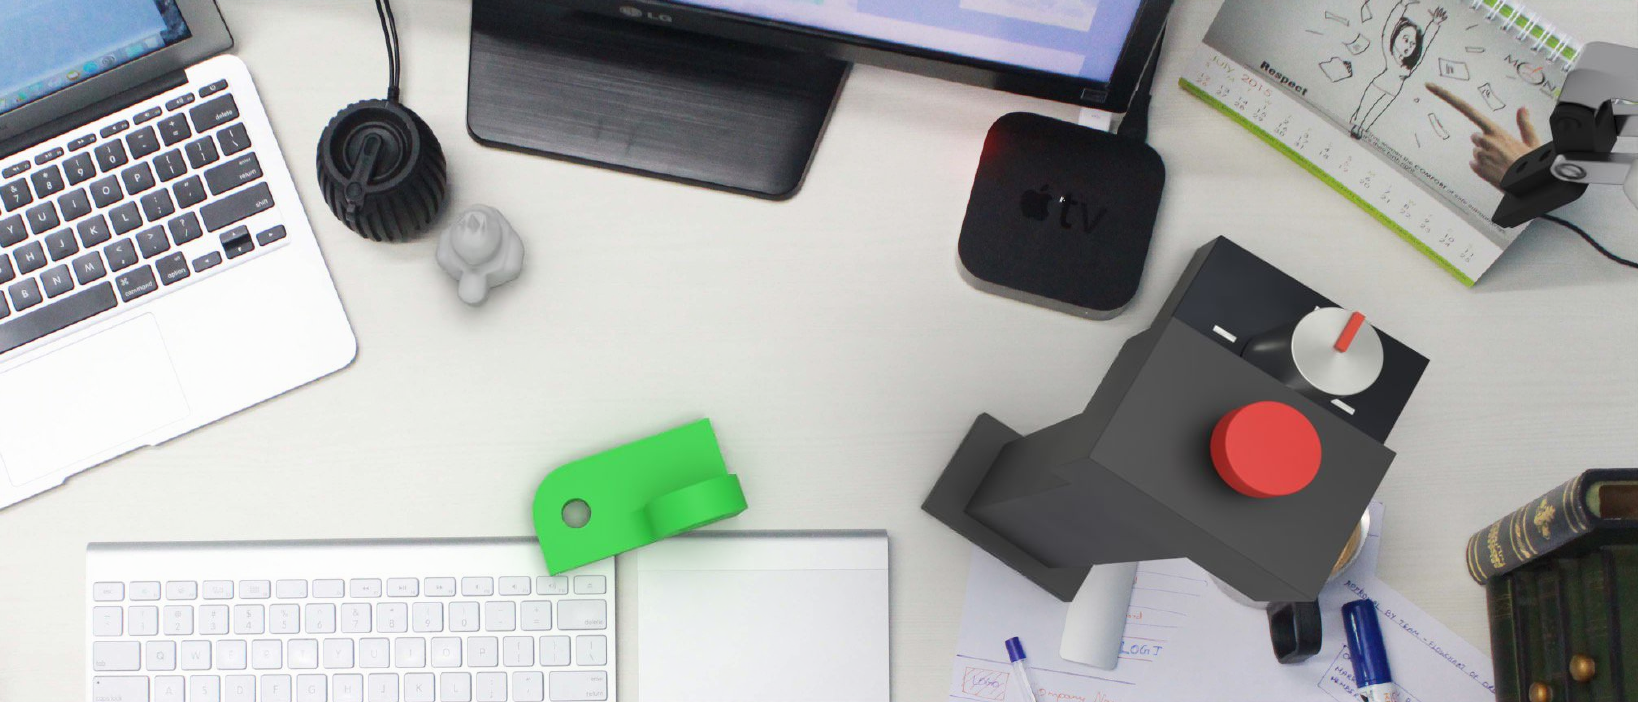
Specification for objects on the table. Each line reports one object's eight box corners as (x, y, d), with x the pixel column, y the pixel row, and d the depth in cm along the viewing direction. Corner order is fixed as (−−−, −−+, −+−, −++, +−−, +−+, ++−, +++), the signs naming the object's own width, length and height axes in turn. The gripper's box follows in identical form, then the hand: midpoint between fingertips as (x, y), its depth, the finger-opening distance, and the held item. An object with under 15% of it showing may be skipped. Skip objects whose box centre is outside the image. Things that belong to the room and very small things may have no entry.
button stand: (1121, 505, 73) (1397, 453, 47) (1064, 602, 72) (1315, 602, 46) (978, 414, 74) (1173, 315, 49) (920, 508, 73) (1087, 457, 47)
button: (1320, 439, 46) (1339, 435, 45) (1276, 516, 46) (1294, 514, 45) (1237, 388, 47) (1253, 382, 46) (1193, 463, 46) (1208, 460, 45)
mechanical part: (706, 422, 74) (717, 400, 66) (738, 514, 73) (753, 503, 65) (522, 482, 74) (511, 467, 66) (551, 576, 72) (544, 572, 65)
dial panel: (1398, 369, 74) (1433, 359, 71) (1316, 516, 72) (1347, 512, 69) (1197, 248, 76) (1222, 233, 73) (1112, 389, 74) (1134, 379, 71)
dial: (1300, 427, 70) (1361, 412, 65) (1224, 380, 71) (1278, 361, 65) (1340, 359, 71) (1403, 338, 66) (1264, 313, 72) (1321, 288, 66)
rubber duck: (533, 224, 77) (524, 181, 69) (517, 322, 76) (506, 290, 68) (450, 213, 77) (432, 169, 70) (433, 311, 76) (413, 277, 68)
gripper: (1789, 6, 31) (1382, 220, 48) (2489, 367, 29) (1802, 461, 45) (1898, -203, 33) (1465, 77, 49) (2578, 125, 30) (1878, 303, 47)
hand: (1627, 261), depth 47 cm, fingers open, 9 cm apart
